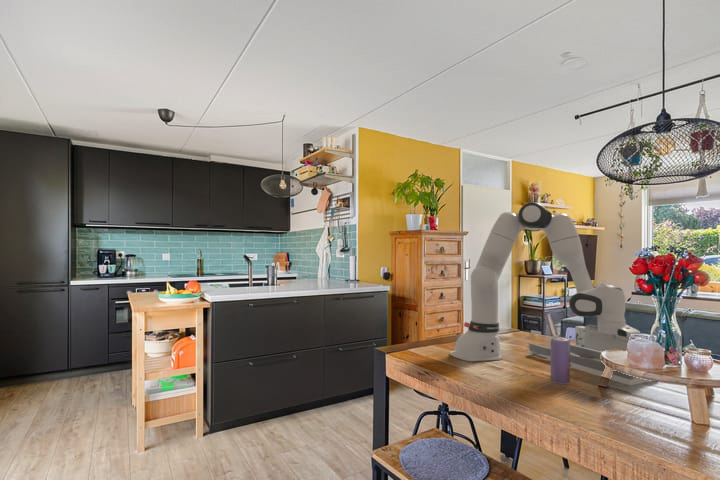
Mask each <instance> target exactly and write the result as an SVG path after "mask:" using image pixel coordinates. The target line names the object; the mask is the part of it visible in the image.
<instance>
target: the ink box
mask: <svg viewBox="0 0 720 480" xmlns="http://www.w3.org/2000/svg"><path fill="white" fill-rule="evenodd" d="M585 327H586V326H580V325H579V326H575V345H576V346H580V347H584V348H586V347H585V346H584V344H583V342H584V334H585ZM588 349H590V348H588ZM592 350H594V349H592ZM597 351H598V350H597Z"/></svg>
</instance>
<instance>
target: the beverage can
mask: <svg viewBox="0 0 720 480" xmlns="http://www.w3.org/2000/svg"><path fill="white" fill-rule="evenodd" d="M570 344H571V343H570V339H569V338H568V337H565V336H564V337H563V336H551V337H550V348H551V361H550V380H551V381H552V383H555V384H558V385H568V384H570V382H571V366H570Z"/></svg>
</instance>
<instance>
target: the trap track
mask: <svg viewBox="0 0 720 480" xmlns="http://www.w3.org/2000/svg"><path fill="white" fill-rule="evenodd" d="M528 344H529V345H528V350H529V352H528V355H529V356H535V357H537V358H538V357H539V358H542V359H545V360H546V361H549V362H551V347H547V346H544V345H540V344H537V343H533V342H530V343H528ZM601 352H602V351H597V350H592V349H588V348H584V347H580V346H576V344H572V343H570V369H575V370H578V371H581V372H585V373H588V374H591V375H594V376H597V377H600V378H602V377H601V375H602V374H603V371H604V369H605V365H604V364H603V363H602V362H601V359H600V354H601ZM610 381H615V382H617V383H621V384H624V385H627V386H630V387H632V386H635V385H640V384H644V382H646V383H649V382H651V381H649V380H644V379H640V378H636V377H633V376H629V375H626V374H623V373H621V372H618V371H613V374H612V377H611V380H610Z"/></svg>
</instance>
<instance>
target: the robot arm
mask: <svg viewBox="0 0 720 480" xmlns="http://www.w3.org/2000/svg"><path fill="white" fill-rule="evenodd" d="M552 213H553V212H551V211H550V210H548V209H547V208H546V207H545V206H544V205H543V204H541V203H539V202H533V201H532V202H531V201H530V202H527V203H525V204H524V205H522V206H521V207H520V209H519V210H518V212H517V213H515V212H510V211H507V212H502V213H501V214H500V215H499V216H498V218H497V219H496V221H495V223H494V224H493V226H492V228H491V230H490V232H489V234H488V237H487V239H486V240H485V244H484V246H483V248H482V251H481V254H480V255H479V258H478V261H477V263H476V265H475V268H474V269H473V270H472V271H471V274H470V300H471V319H470V321H469V322H464V323H463V327H465V328H467V331H465V332H464V334H462V335H461V336H460V337H458V338H457V340H456V341H455V342H456V343H455V348H454V350H450V351H449V355H450V356H451V357H454V358H456V359H459V360H462V361H466V362H481V361H482V362H484V361H500V360H502V357H503V354H502V351H501V344H500V337H499V332H500V323H499V291H498V290H499V289H498V288H499V285H498V284H499V279H500V276H501V274H502V272H503V269H504V267H505V265H506V263H507V261H508V260H509V257H510V255H511V252H512V250H513V248H514V246H515V244H516V241H517V239H518V237H519V235H520V233H521V232H522V231H523V232H539V231H542V232H544V233H545V235H546V237H547V240H548V243H549V244H548V245H549V246H550V250H551V252H552V254H553V255H554V258H555V259H556V260H557V261H558V262H559V263H561V264H562V265H563V266H564V267H565V268H566V269H567V270H568V271H569V272H570V276H571V278H572V282H573V284H574V287H575V290H576V293H575V294H573V295H572V296H571V297H570V299H569V301H568V302H569V303H568V304H569V308H570V310H571V312H572V313H573V314H575V315H576V316H578V317H582V318H589V317H597V325H596V324H592V323H589V324H586V325H585V326H584V327H585V334H584V342H583V344H584V346H585V347H586V348H590V349H594V350H598V351H601V352H603V351H605V350H609V349H615V348H616V349H619V350H623V351H626V348H627V343H628V340H629V337H630V335H631V334H641V331H640V330H638V329H637V328H634V327H632V326H630V325H628V324H627V322H626V318H625V312H626V310H627V309H626V295H625V292H624V290H623V288H621V287H619V286H616V285H613V284H605V283H602V284H599V285H598V286H596V287H595V286H594V284H593V282H592V279H591V275H590V273H589V271H588V268H587V265H586V262H585V261H586V260H585V256H584V251H583V245H582V241H581V238H580V235H579V232H578V230H577V227H576V226H575V224H574V222H573V220H572V218H571V217H570V216H569V215H568V214H566V213H556V214H552ZM641 335H642V334H641Z"/></svg>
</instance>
